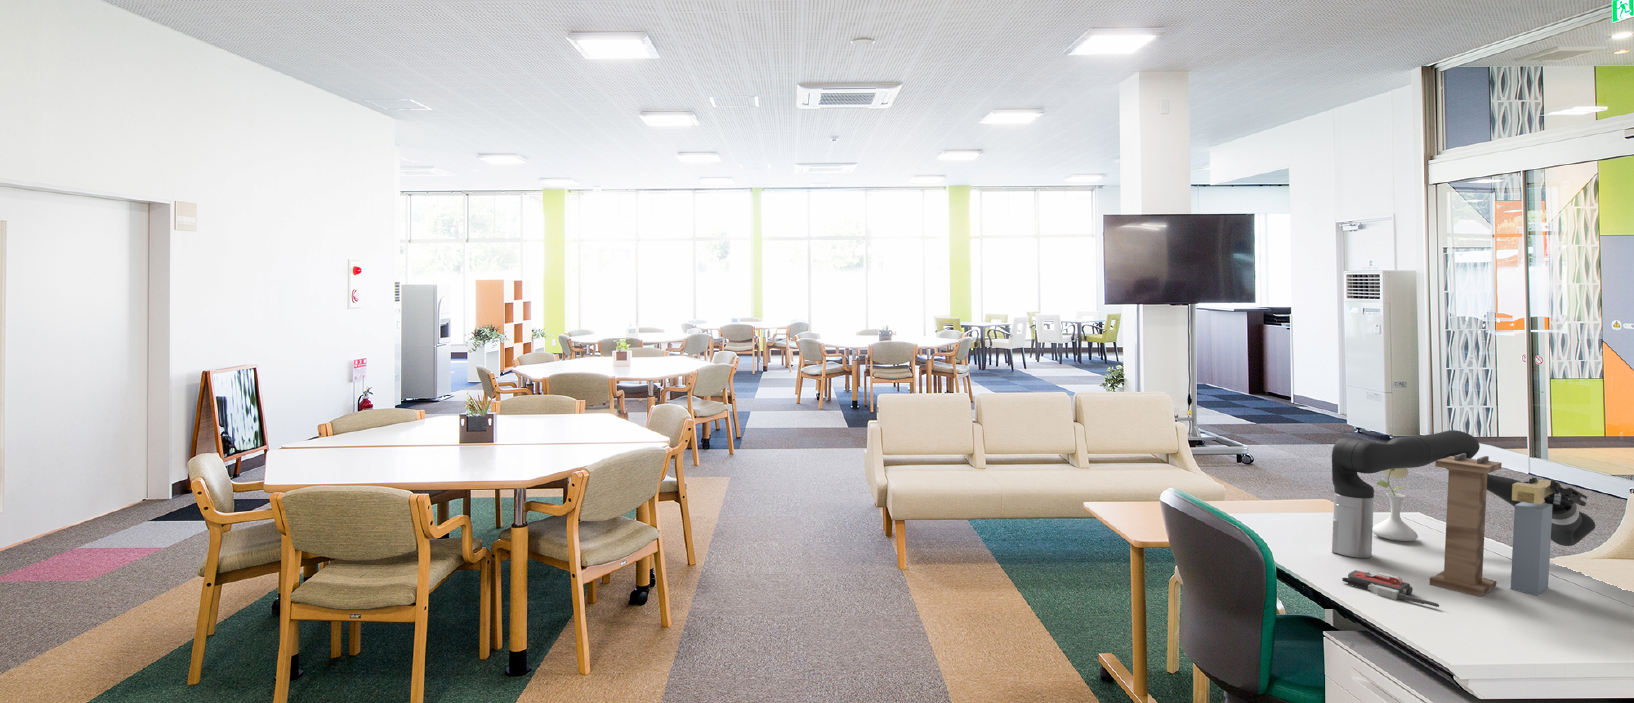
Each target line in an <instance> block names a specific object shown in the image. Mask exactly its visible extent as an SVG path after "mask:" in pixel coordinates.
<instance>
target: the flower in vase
mask: <svg viewBox="0 0 1634 703" xmlns="http://www.w3.org/2000/svg"><path fill="white" fill-rule="evenodd" d="M1408 469H1409V468H1393V469H1388V470H1384V471H1382V472H1383V473H1385V474H1386V475H1387V479H1386V480H1387V482H1386V481H1384V480H1382V479H1380V480H1379V481H1377V483H1376V485H1378V486H1380V487H1383V488H1385V489H1388V487H1389V490H1390V491H1391V492H1386V493H1385V495H1386V496H1387V498H1388V500H1389V504H1390V514H1389V517H1387V518H1386V519H1385V520H1383V521H1381V522H1378V523H1376V524H1375V525H1373V531H1372V534H1374V535H1376V536H1378V537H1380V538H1383V539H1387V540H1391V541H1400V542H1410V541H1416V540H1417V539H1418V538H1419V535H1418V533H1417V532H1416V531H1415V530H1414V529H1413V528H1412V527H1410V526H1409V524H1407V523H1405V522H1404V521H1403V520H1402V518H1401V507H1402V504H1403V501H1404V499H1406V498H1407V495H1406V494H1402V493H1398V492H1394V491H1396V490H1401V489H1403V488H1405V485H1401V486H1397V487H1395V488H1392V487H1391V485H1390V476H1391V477H1392V478H1394V479H1396V480H1397V479H1404V478H1407V476H1408V473H1409V470H1408Z"/></svg>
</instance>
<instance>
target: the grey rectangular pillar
mask: <svg viewBox="0 0 1634 703" xmlns="http://www.w3.org/2000/svg"><path fill="white" fill-rule="evenodd" d="M1552 506H1553V504H1547V503H1541V504H1540V505H1539V504H1533V503H1526V502H1520V503H1518V504H1516V505H1515V507H1514V513H1513V514H1514V515H1513V534H1512V535H1513V536H1512V555H1511V572H1510V590H1514V591H1518V592H1522V593H1526V594H1531V595H1535V596H1539V595H1541V594H1542V593H1543V592H1544V591H1546V590H1548V589H1549V580H1550V579H1549V577H1550V560H1551V559H1550V558H1551V544H1552V543H1551V541H1552V540H1551V524H1552Z"/></svg>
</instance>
